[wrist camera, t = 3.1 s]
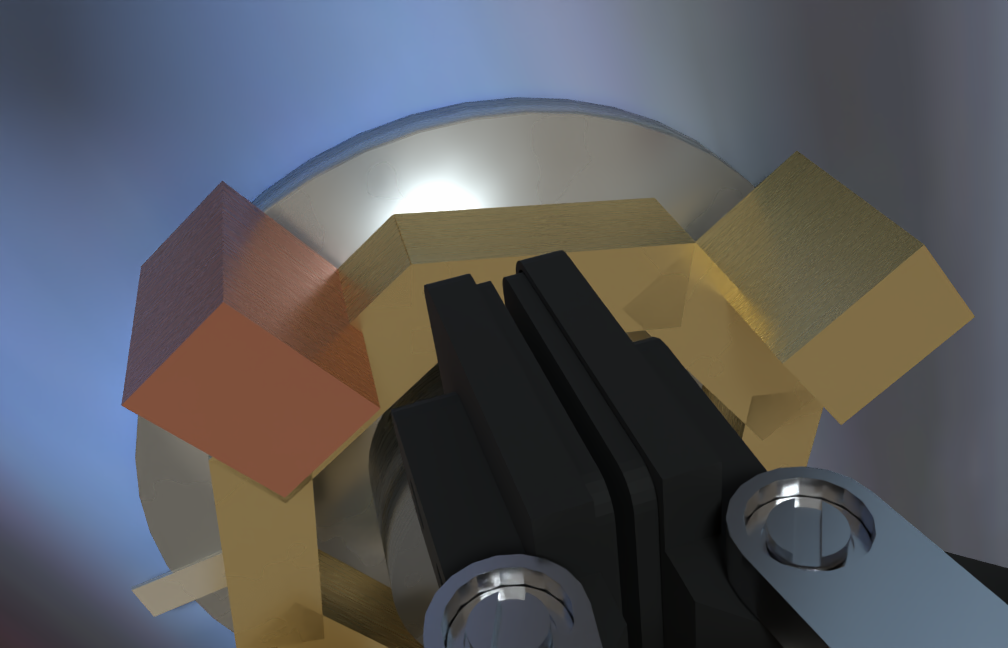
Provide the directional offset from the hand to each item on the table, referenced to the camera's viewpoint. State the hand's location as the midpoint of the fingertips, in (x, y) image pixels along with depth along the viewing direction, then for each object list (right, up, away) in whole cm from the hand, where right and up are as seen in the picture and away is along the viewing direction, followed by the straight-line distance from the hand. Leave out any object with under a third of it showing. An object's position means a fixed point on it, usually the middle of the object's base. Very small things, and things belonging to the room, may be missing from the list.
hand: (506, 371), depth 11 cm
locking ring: (0, -2, +10) cm, 10 cm away
